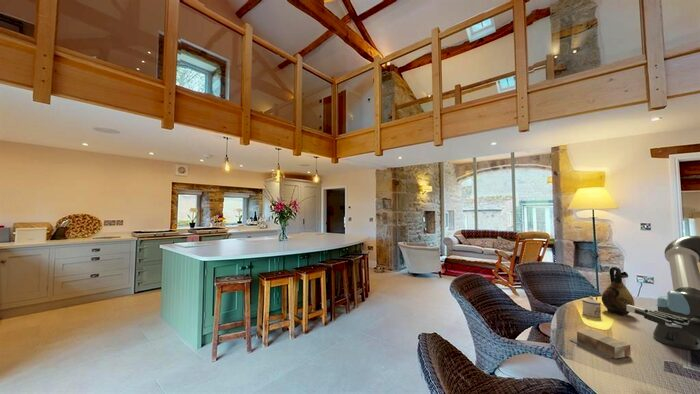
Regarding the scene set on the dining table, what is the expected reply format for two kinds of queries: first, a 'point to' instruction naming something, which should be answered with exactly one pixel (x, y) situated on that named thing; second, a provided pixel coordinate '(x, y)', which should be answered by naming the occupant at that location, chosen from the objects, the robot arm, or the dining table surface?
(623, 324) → the dining table surface
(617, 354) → the walnut slab
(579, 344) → the slate mat
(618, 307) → the ceramic jug
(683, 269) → the robot arm
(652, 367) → the dining table surface
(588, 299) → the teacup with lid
